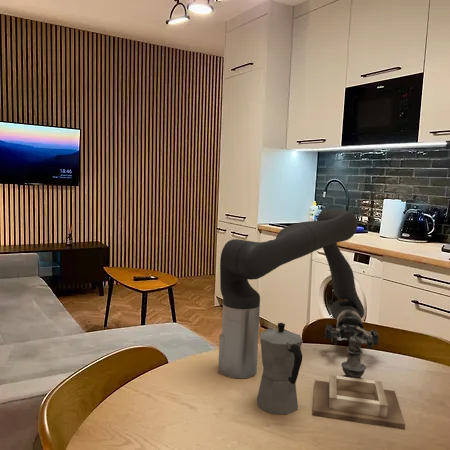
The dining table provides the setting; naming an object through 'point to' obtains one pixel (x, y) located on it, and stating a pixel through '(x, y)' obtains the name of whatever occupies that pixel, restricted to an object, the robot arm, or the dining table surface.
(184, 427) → the dining table surface
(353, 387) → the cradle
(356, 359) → the salt shaker
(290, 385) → the coffeepot
